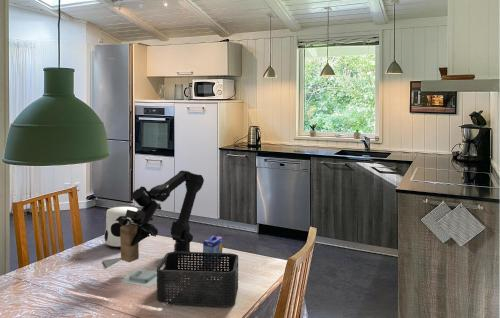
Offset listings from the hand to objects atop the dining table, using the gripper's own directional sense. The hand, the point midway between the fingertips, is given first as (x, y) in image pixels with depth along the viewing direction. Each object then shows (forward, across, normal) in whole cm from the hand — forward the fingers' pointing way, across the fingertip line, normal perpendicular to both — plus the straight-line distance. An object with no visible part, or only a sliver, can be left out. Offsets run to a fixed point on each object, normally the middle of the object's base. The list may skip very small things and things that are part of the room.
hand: (127, 244), depth 167 cm
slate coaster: (+5, -14, +14) cm, 21 cm away
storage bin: (+7, +35, +12) cm, 38 cm away
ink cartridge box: (-11, +21, +31) cm, 39 cm away
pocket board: (+8, +8, +10) cm, 16 cm away
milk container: (-8, -32, +28) cm, 43 cm away
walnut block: (+4, 0, +6) cm, 7 cm away
